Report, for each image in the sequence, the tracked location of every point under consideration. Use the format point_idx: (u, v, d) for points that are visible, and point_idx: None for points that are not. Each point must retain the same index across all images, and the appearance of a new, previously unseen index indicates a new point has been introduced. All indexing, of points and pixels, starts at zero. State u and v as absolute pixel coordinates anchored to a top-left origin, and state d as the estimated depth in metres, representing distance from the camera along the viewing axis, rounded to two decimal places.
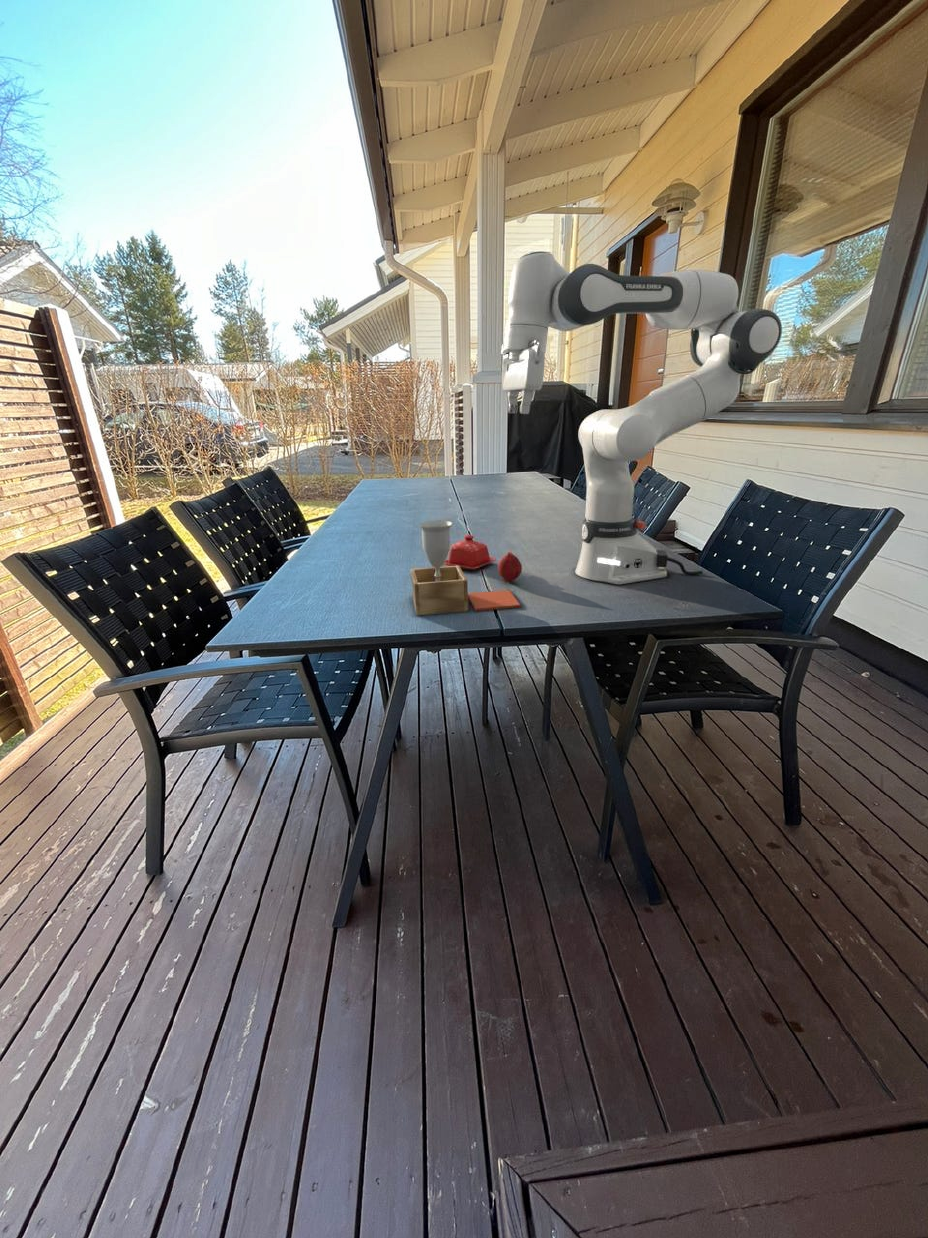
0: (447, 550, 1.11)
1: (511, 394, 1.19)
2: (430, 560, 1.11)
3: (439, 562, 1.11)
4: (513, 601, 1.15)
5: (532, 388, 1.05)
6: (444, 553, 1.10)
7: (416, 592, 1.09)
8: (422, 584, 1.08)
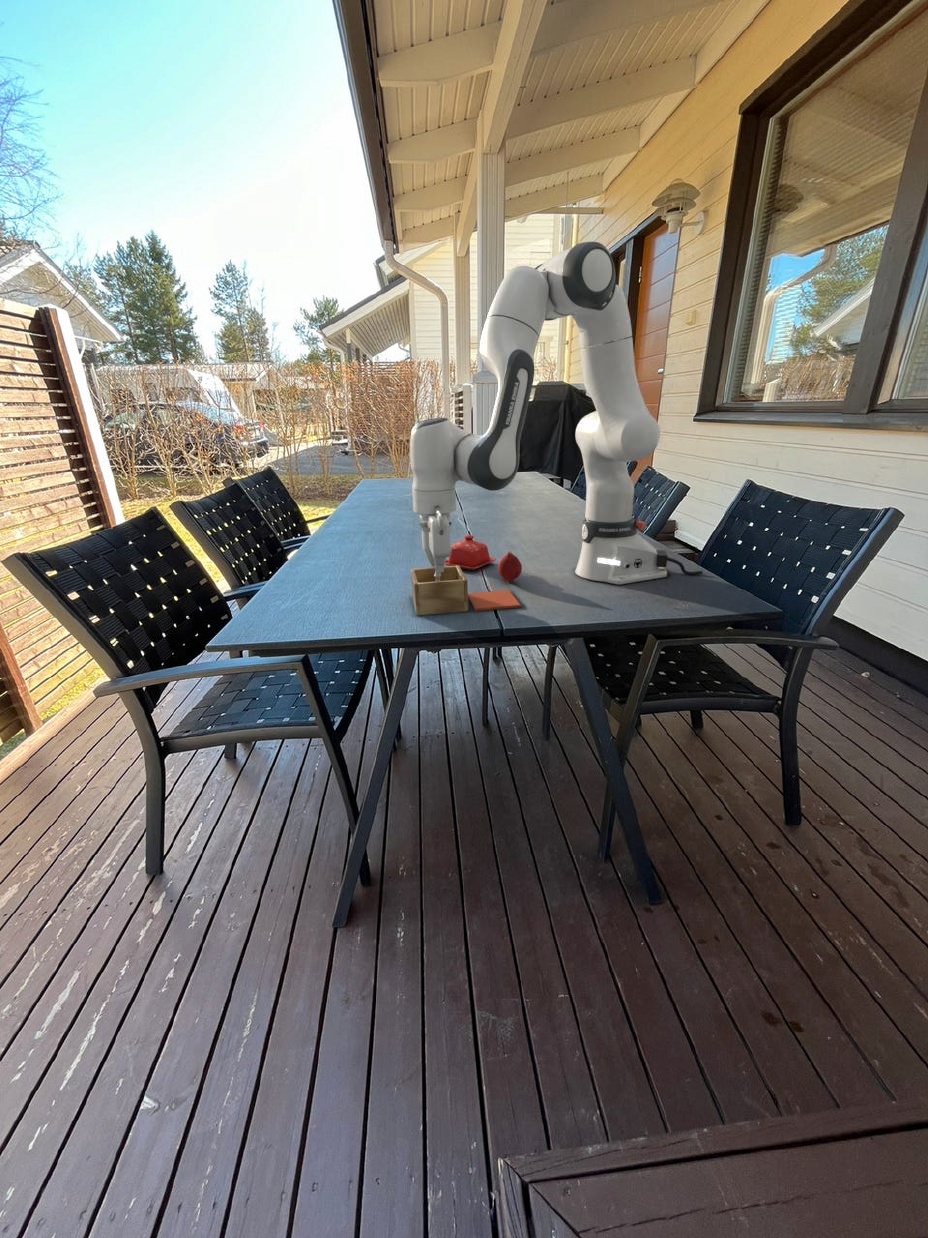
0: None
1: None
2: (430, 560, 1.11)
3: None
4: (513, 601, 1.15)
5: (441, 557, 1.03)
6: None
7: (416, 592, 1.09)
8: (422, 584, 1.08)
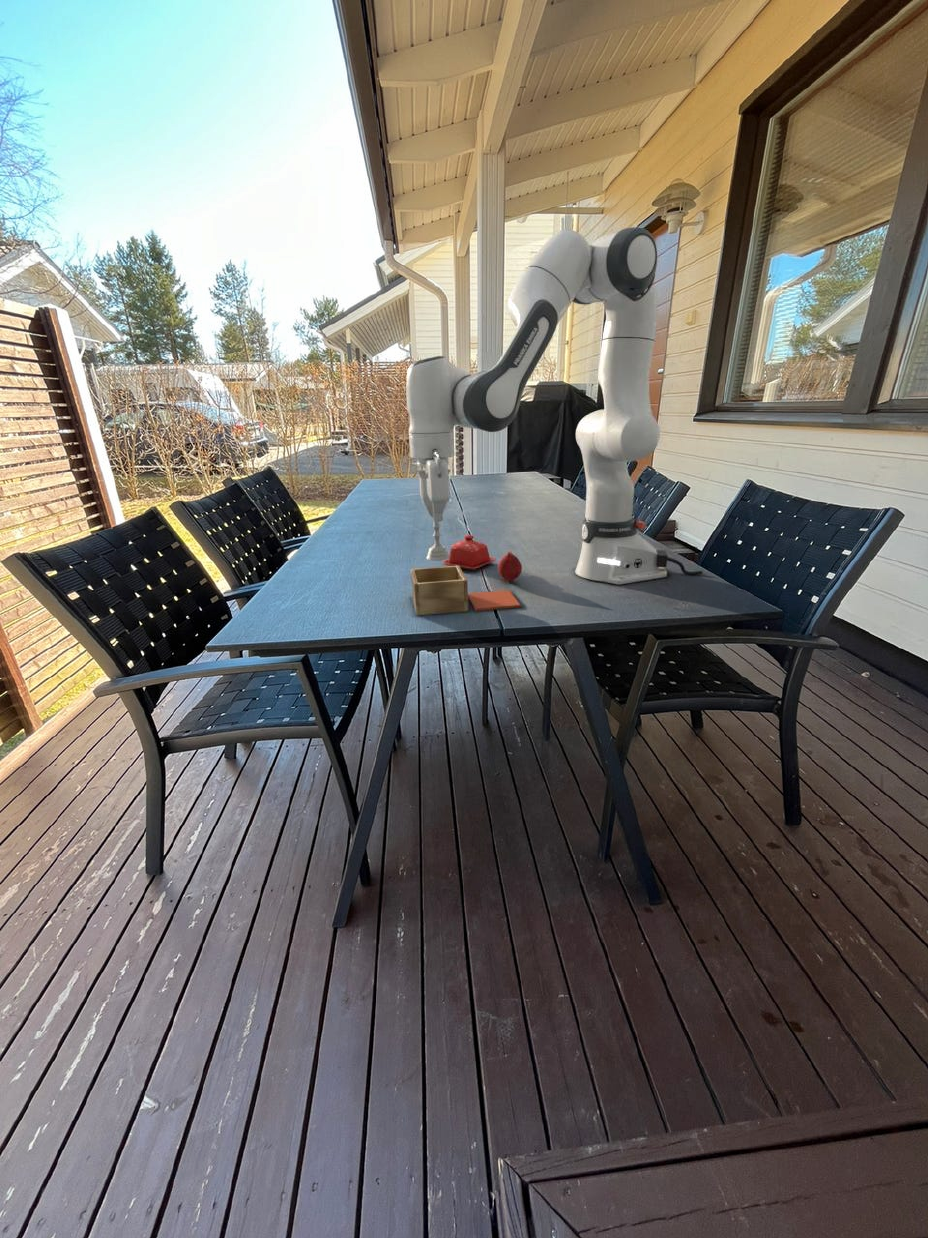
0: None
1: None
2: (428, 509, 1.07)
3: None
4: (513, 601, 1.15)
5: (439, 501, 0.99)
6: None
7: (416, 592, 1.09)
8: (422, 584, 1.08)
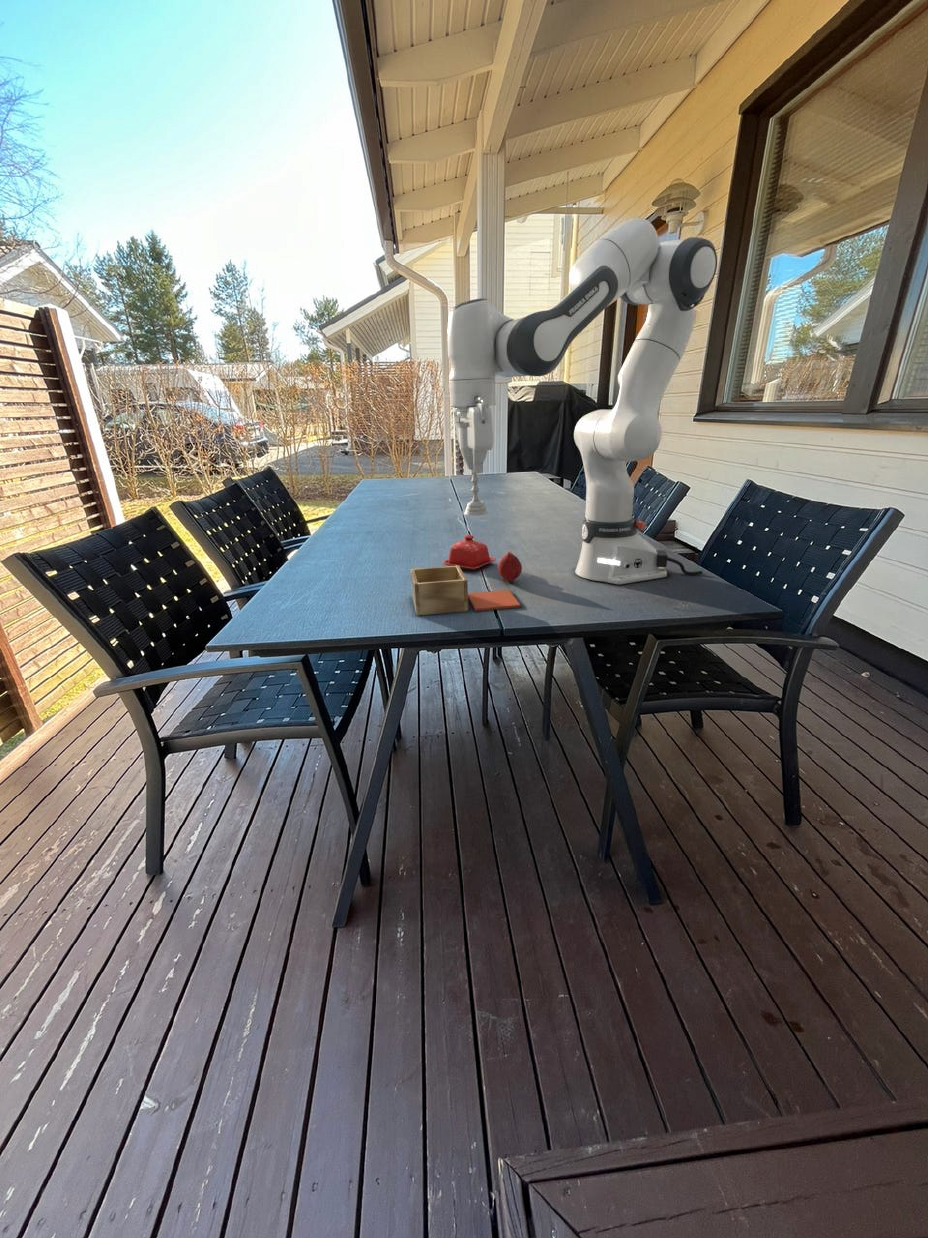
0: (486, 450, 1.04)
1: None
2: (467, 461, 1.04)
3: None
4: (513, 601, 1.15)
5: (482, 449, 0.96)
6: None
7: (416, 592, 1.09)
8: (422, 584, 1.08)
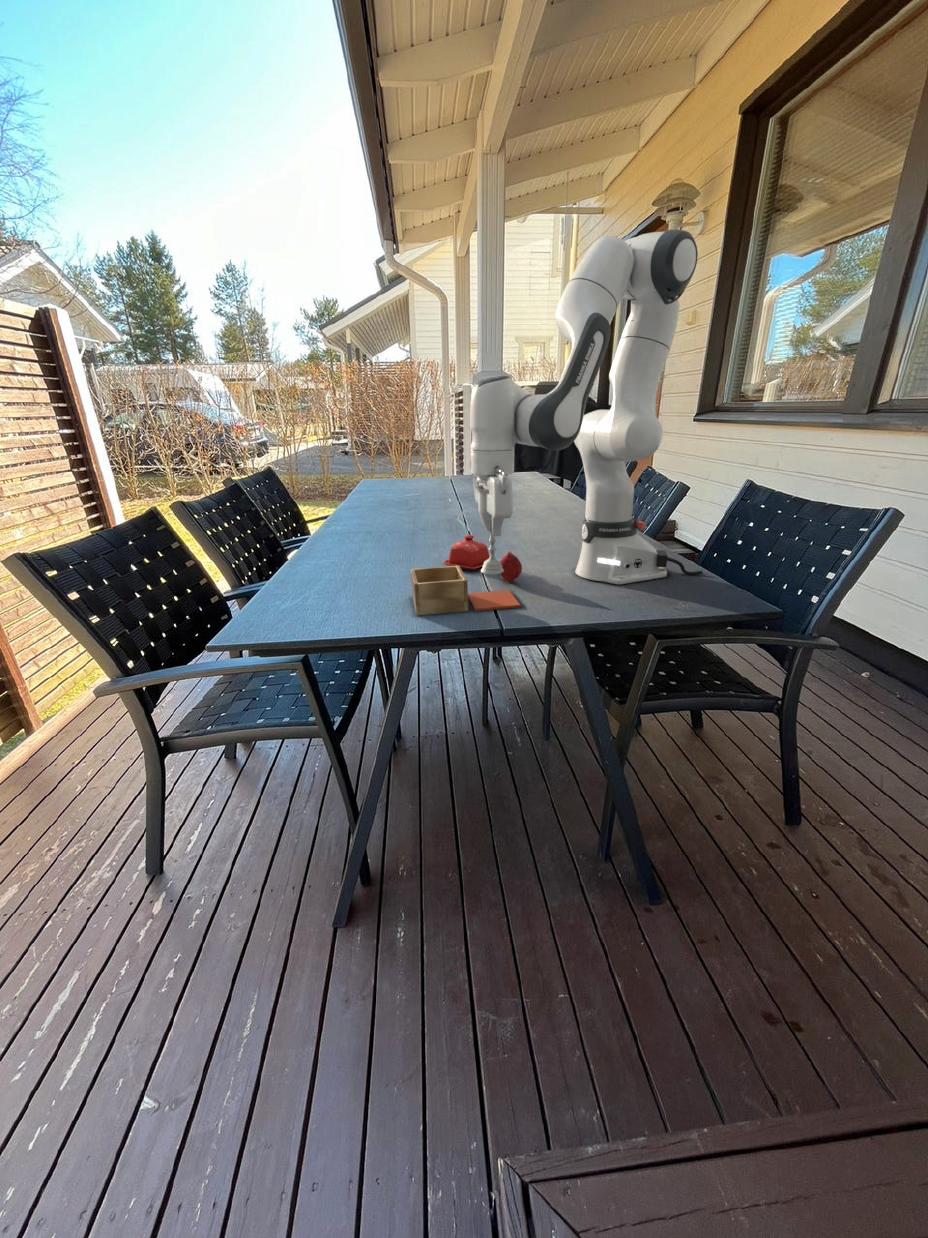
0: None
1: None
2: (486, 524, 1.09)
3: None
4: (513, 601, 1.15)
5: (502, 518, 1.01)
6: None
7: (416, 592, 1.09)
8: (422, 584, 1.08)
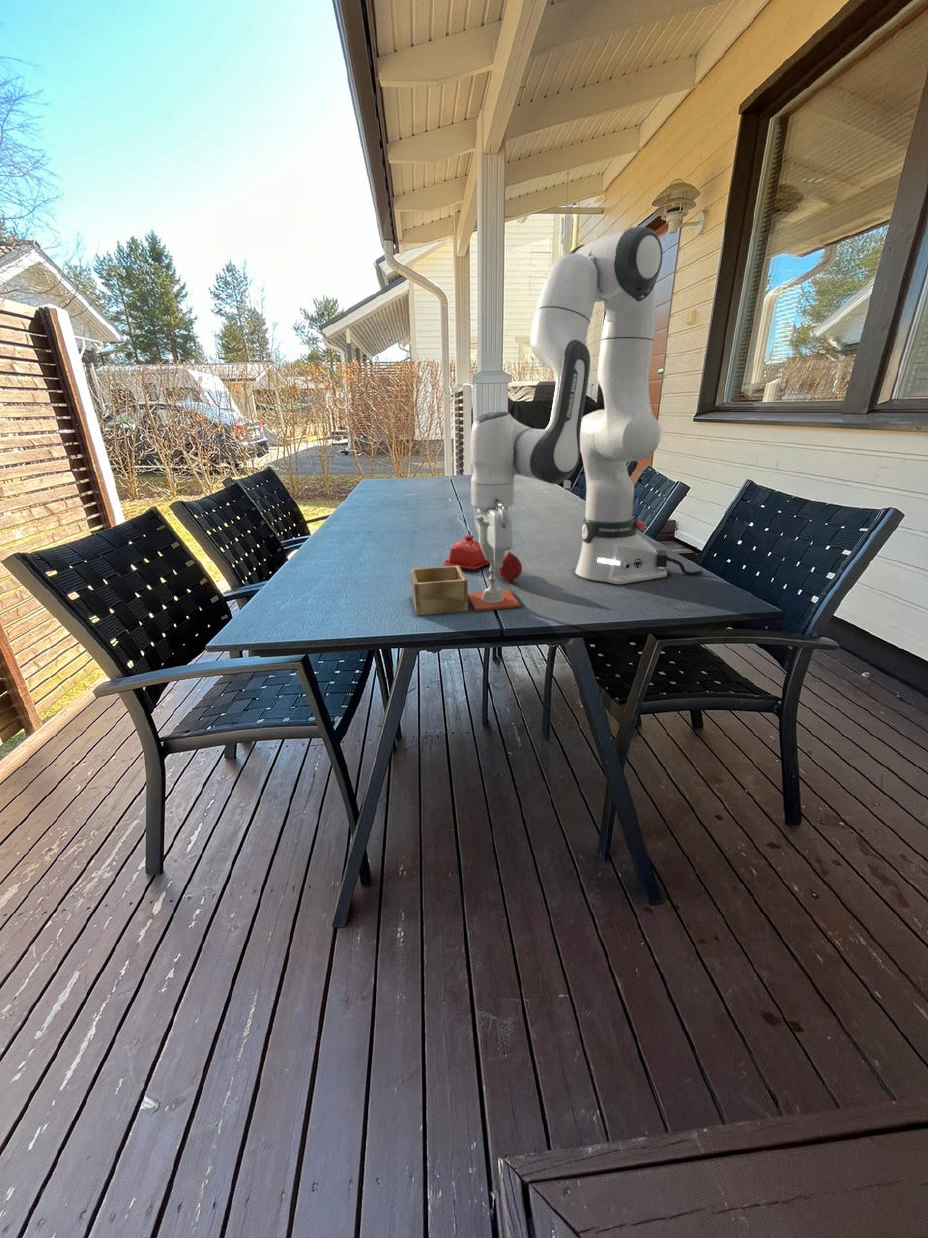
0: None
1: None
2: (486, 555, 1.12)
3: None
4: (513, 601, 1.15)
5: (502, 550, 1.03)
6: None
7: (416, 592, 1.09)
8: (422, 584, 1.08)
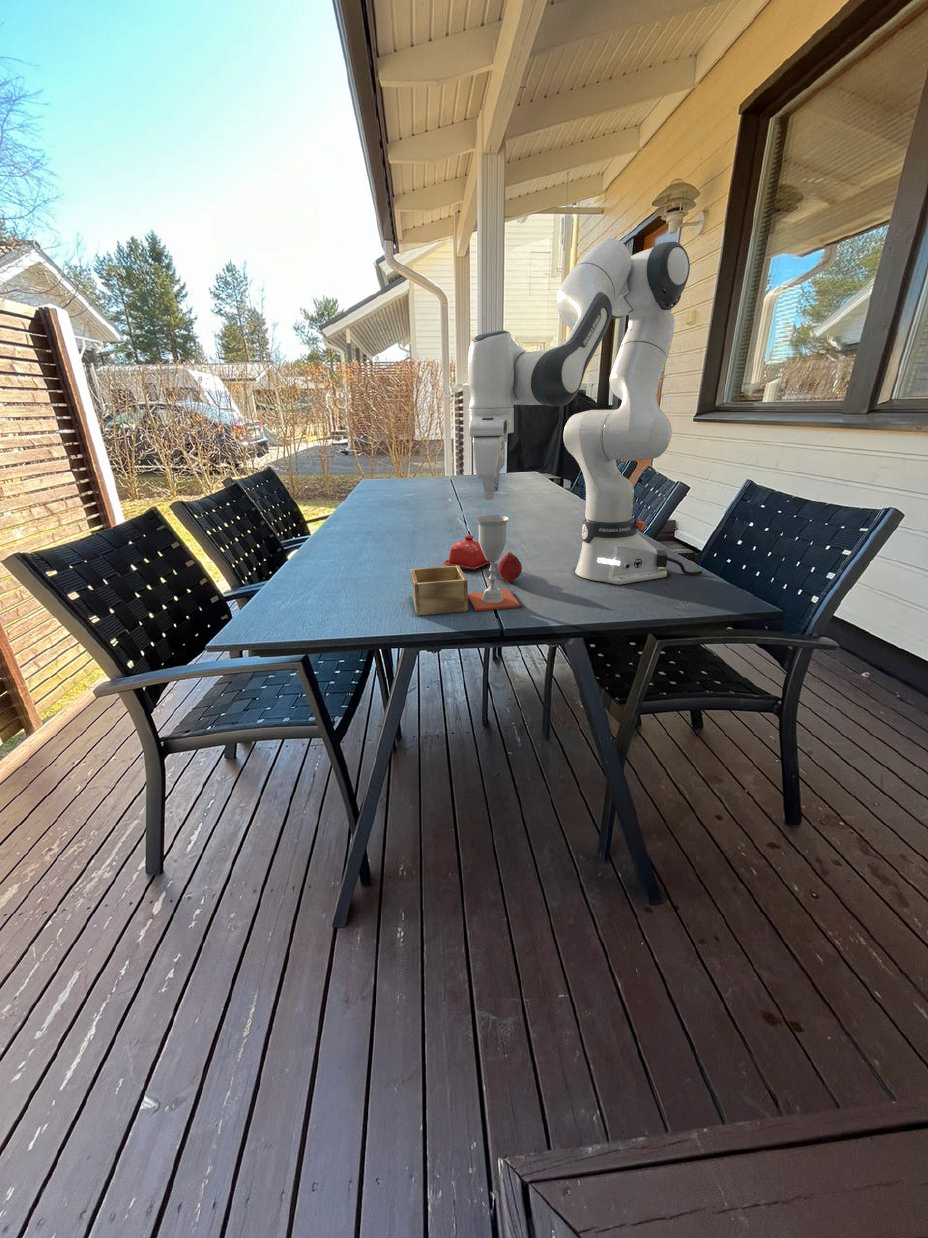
0: (503, 545, 1.11)
1: None
2: (486, 555, 1.12)
3: (495, 557, 1.12)
4: (513, 601, 1.15)
5: None
6: (500, 548, 1.11)
7: (416, 592, 1.09)
8: (422, 584, 1.08)
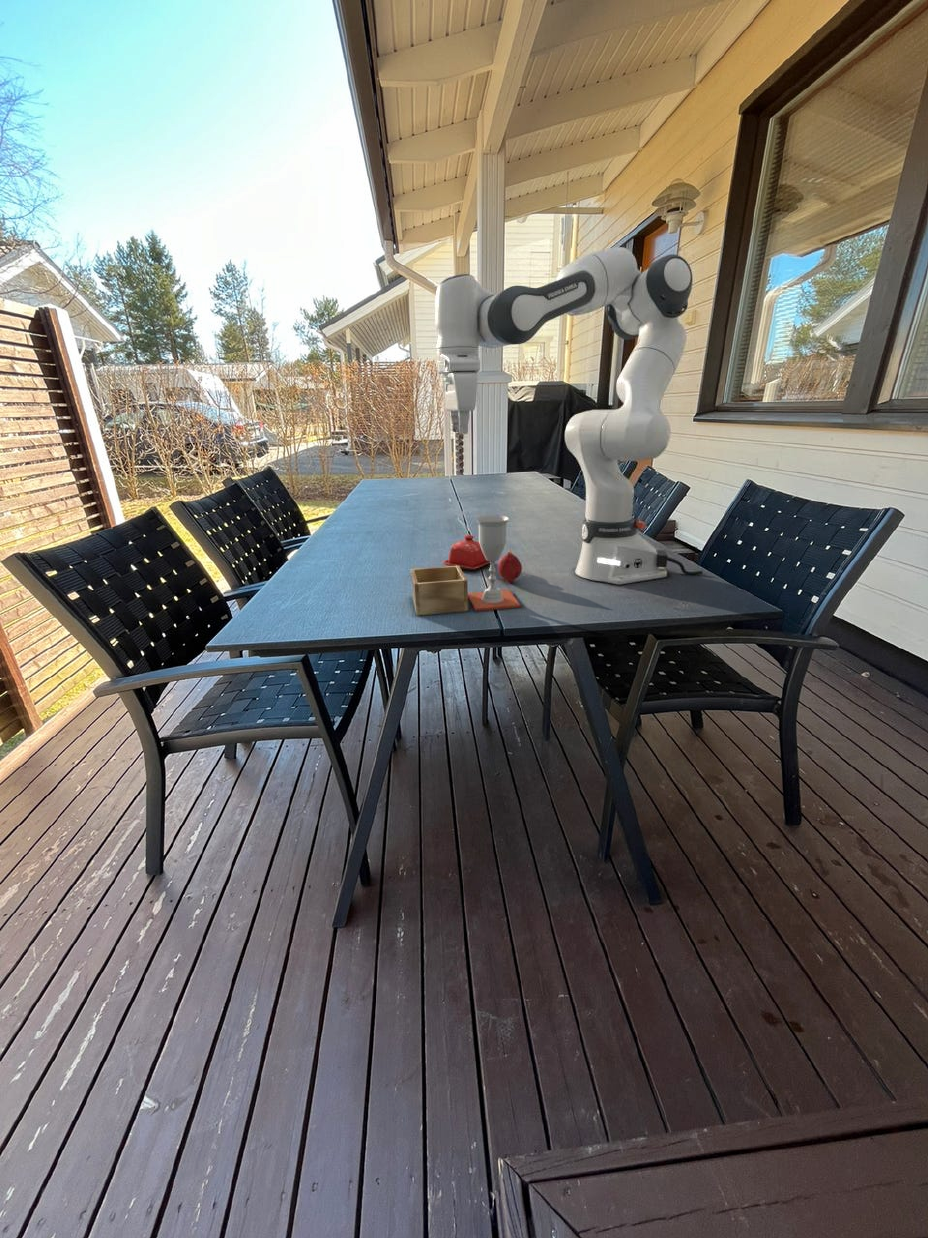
0: (503, 545, 1.11)
1: None
2: (486, 555, 1.12)
3: (495, 557, 1.12)
4: (513, 601, 1.15)
5: None
6: (500, 548, 1.11)
7: (416, 592, 1.09)
8: (422, 584, 1.08)
